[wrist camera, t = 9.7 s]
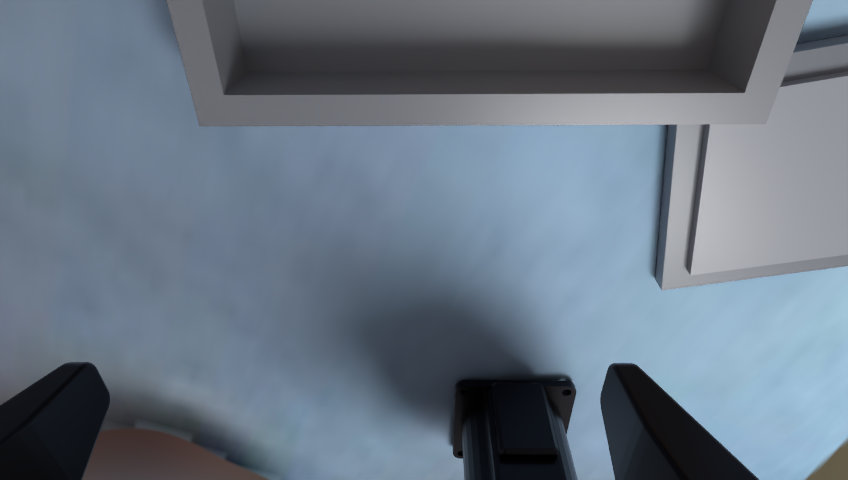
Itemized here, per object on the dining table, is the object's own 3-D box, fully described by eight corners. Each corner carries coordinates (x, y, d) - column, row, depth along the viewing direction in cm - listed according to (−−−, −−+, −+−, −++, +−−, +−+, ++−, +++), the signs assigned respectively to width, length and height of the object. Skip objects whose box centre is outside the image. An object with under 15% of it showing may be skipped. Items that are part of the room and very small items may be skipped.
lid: (933, 242, 23) (957, 258, 22) (655, 279, 24) (665, 295, 23) (1040, 1, 17) (1077, 7, 16) (673, 65, 19) (686, 75, 18)
